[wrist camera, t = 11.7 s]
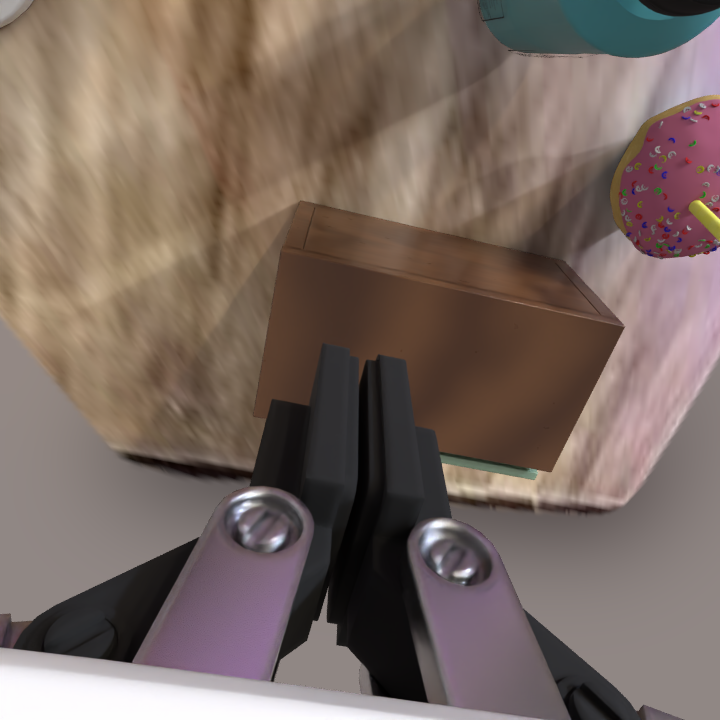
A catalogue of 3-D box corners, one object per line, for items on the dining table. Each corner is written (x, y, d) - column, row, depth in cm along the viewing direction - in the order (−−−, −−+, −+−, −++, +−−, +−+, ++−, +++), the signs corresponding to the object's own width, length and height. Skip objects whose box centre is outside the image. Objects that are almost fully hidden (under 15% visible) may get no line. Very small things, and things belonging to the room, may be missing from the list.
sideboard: (274, 343, 41) (251, 423, 33) (300, 200, 36) (280, 250, 28) (510, 390, 43) (548, 479, 34) (565, 261, 38) (625, 326, 29)
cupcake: (631, 259, 38) (733, 342, 28) (557, 165, 35) (641, 217, 25) (753, 166, 35) (920, 219, 25) (684, 54, 32) (840, 61, 22)
